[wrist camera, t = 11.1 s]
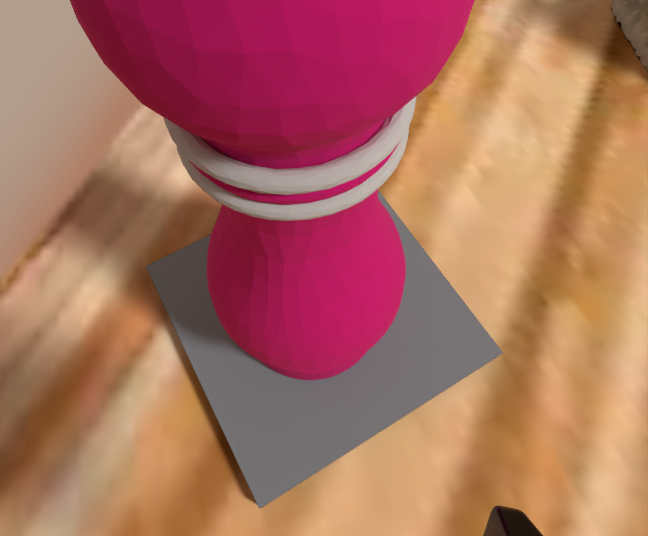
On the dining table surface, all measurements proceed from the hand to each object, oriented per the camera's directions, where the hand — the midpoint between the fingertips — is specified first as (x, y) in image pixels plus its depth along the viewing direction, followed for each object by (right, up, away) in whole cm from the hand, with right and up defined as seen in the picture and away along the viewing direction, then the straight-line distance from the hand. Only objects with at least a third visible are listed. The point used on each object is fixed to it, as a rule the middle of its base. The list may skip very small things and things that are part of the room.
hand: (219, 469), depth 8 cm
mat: (+1, +1, +14) cm, 14 cm away
